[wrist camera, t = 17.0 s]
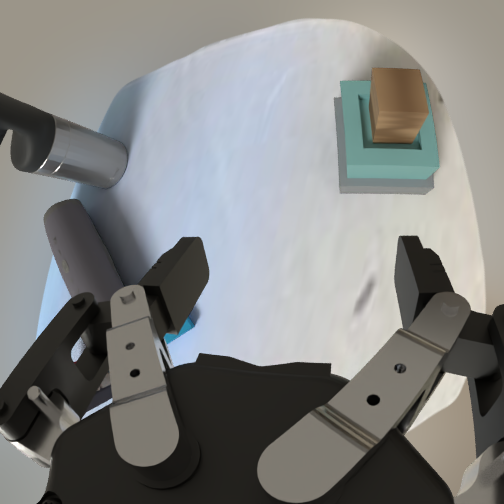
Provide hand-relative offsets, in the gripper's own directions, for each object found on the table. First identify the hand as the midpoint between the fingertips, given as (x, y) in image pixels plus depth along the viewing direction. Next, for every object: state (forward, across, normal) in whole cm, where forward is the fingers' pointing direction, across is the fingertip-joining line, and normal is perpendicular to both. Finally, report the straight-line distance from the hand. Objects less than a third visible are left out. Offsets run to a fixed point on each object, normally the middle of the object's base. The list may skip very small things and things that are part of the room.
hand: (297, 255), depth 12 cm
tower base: (+33, -8, +4) cm, 34 cm away
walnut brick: (+24, -8, -2) cm, 26 cm away
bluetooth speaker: (+26, +38, +18) cm, 50 cm away
